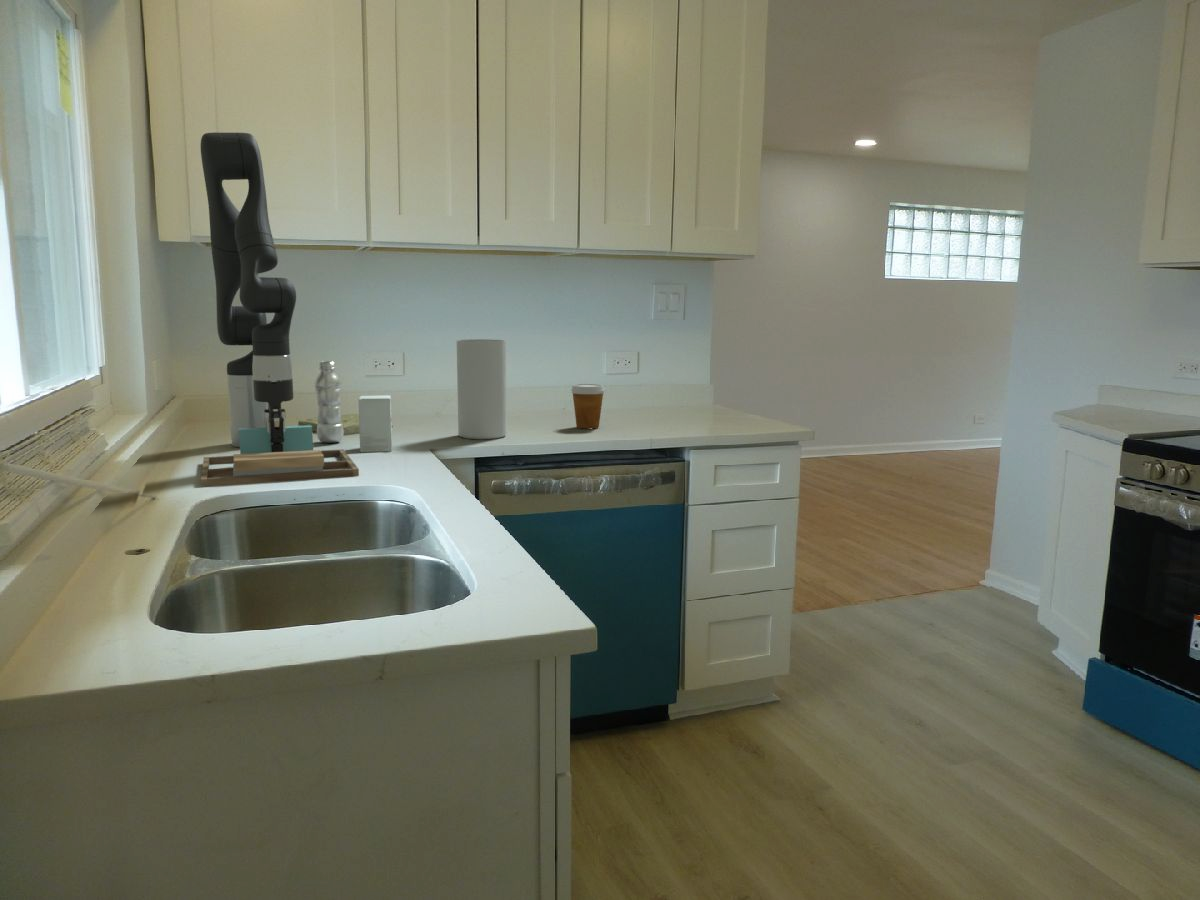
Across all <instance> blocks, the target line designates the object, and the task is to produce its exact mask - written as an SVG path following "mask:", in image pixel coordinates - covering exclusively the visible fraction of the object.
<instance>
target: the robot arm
mask: <svg viewBox="0 0 1200 900" xmlns="http://www.w3.org/2000/svg"><path fill="white" fill-rule="evenodd" d="M200 158H201V165H202V171H203V177H204V184H205V190H206V197H207V204H208V214H209V215H208V216H209V233H210V234H209V235H210V244H211V245H210V247H211V248H210V249H211V257H212V263H213V270H214V280H215V296H216V297H215V298H216V300H215V304H216V330H217V334H218V337H219V340H220V342H221V343H222V344H223V345H225V346H252V349H251V351H250V352H249V353H247V354H246V355H244V356H242V357H239V358H236V359H234V360H231V361H229V362H227V364H226V379H227V390H228V405H229V406H228V407H229V409H228V410H229V423H230V435H231V446H232V447H234V448H235V447H236V448H240V440H239V429H242V428H263V427H267V432H268V433H270V443H271V450H272V452H283V442H284V432H285V426H286V420H285V419H286V410H285V408H282V403H283V402H290V401H292V400H294V382H293V365H292V360H291V355H290V354H291V352H290V350H291V349H290V330H291V325H292V319H293V315H294V312H295V311H294V310H295V307H296V303H297V292H296V288H295V285H294V284H293V283H292V281H290V280H289V279H288V278H285V277H265V276H262V277H260V276H259V275H258V274H262V273H267V272H270V271H272V270H273V269H275V268H277V266H278V263H279V262H278V260H279V259H278V255H277V253H278V252H277V251H276V246H275V242H274V238H273V234H272V230H271V224H270V220H269V219H270V218H269V211H268V202H267V201H268V200H267V193H266V191H267V190H266V184H265V177H264V169H263V168H264V167H263V162H262V155H261V151H260V148H259V145H258V141H257V140H256V138H255V136H254V135H253V134H251V133H248V132H217V131H216V132H206V133H203V135H202V136H201V138H200ZM231 180H232V181H235V180H238V181H239V180H240V181H241V180H247V181H248V182H247V183H248V189H247V190H248V191H247V195H246V197H245V201H244V202H243V205H242V208H241V209H240V211H239V209H238V207H236V206H235V205H234V203H233V202H232V200H231V198H230V197H229V196H228V194H227V193H226V190H225V189H224V187H223V181H231ZM238 291H239V301H240V303H241V305H240V306H239V305H238V306H236V305H235V306H234V305H232V304H233V303H234V299H235V297H236V295H237V293H238ZM266 314H274V316H273V318H272V320H271V321H270V322H269V323H268V321H267V315H266ZM274 434H280V437H273V435H274Z"/></svg>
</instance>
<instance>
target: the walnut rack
mask: <svg viewBox="0 0 1200 900" xmlns="http://www.w3.org/2000/svg"><path fill="white" fill-rule="evenodd" d="M321 452H322V454H323V455H324V458H333V457H335V458H336V457H338V458H340V459H341V460H335V461H334V460H333V461H324V466H323V470H321V471H306V472H291V473H276V474H261V475H245V476H233V467H224V468H223V467H222V468H210V465H219V464H220V465H221V464H234V455H223V456H222V455H221V456H220V455H219V456H203V460H202V467H201V470H202V471H201V476H200V486H201V488H203V487H216V486H230V485H231V486H233V485H245V484H247V485H248V484H258V483H261V484H262V483H276V482H288V481H302V480H306V481H307V480H315V479H316V480H319V479H331V478H348V477H359V476H360V469H359V468H358V466H357V465H356V463H355V462H354V461H353V459H351V457H350V456H349V455H348V453H347V452H346V451H345V450H344V448H343V449H342V448H341V449H328V450H327V449H326V450H325V449H324V450H321Z"/></svg>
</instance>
